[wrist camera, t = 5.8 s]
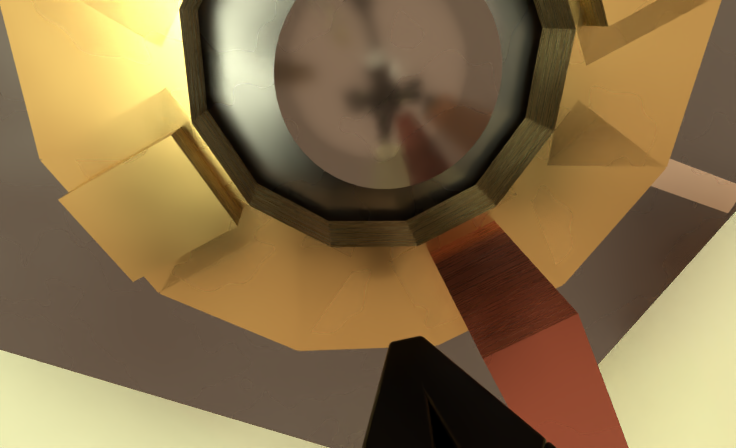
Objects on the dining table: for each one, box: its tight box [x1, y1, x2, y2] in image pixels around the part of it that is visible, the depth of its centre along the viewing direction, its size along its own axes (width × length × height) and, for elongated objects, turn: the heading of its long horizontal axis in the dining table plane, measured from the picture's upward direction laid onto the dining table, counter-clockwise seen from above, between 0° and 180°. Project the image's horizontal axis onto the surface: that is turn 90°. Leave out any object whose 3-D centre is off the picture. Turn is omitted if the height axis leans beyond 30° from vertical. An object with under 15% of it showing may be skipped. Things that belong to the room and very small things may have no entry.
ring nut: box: [0, 0, 721, 448], centre depth 8 cm, size 15×13×5 cm
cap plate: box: [0, 0, 736, 448], centre depth 10 cm, size 22×22×4 cm
